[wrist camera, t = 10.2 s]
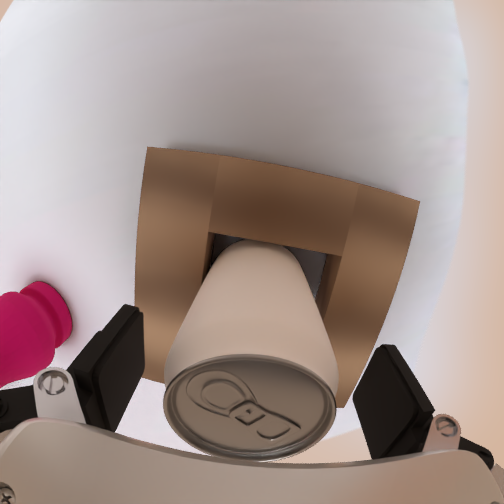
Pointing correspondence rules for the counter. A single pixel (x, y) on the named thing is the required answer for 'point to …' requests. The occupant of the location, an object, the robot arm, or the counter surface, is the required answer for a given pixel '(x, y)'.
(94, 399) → the robot arm
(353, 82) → the counter surface
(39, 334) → the pepper mill
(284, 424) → the can
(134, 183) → the counter surface
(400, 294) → the counter surface
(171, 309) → the socket board
